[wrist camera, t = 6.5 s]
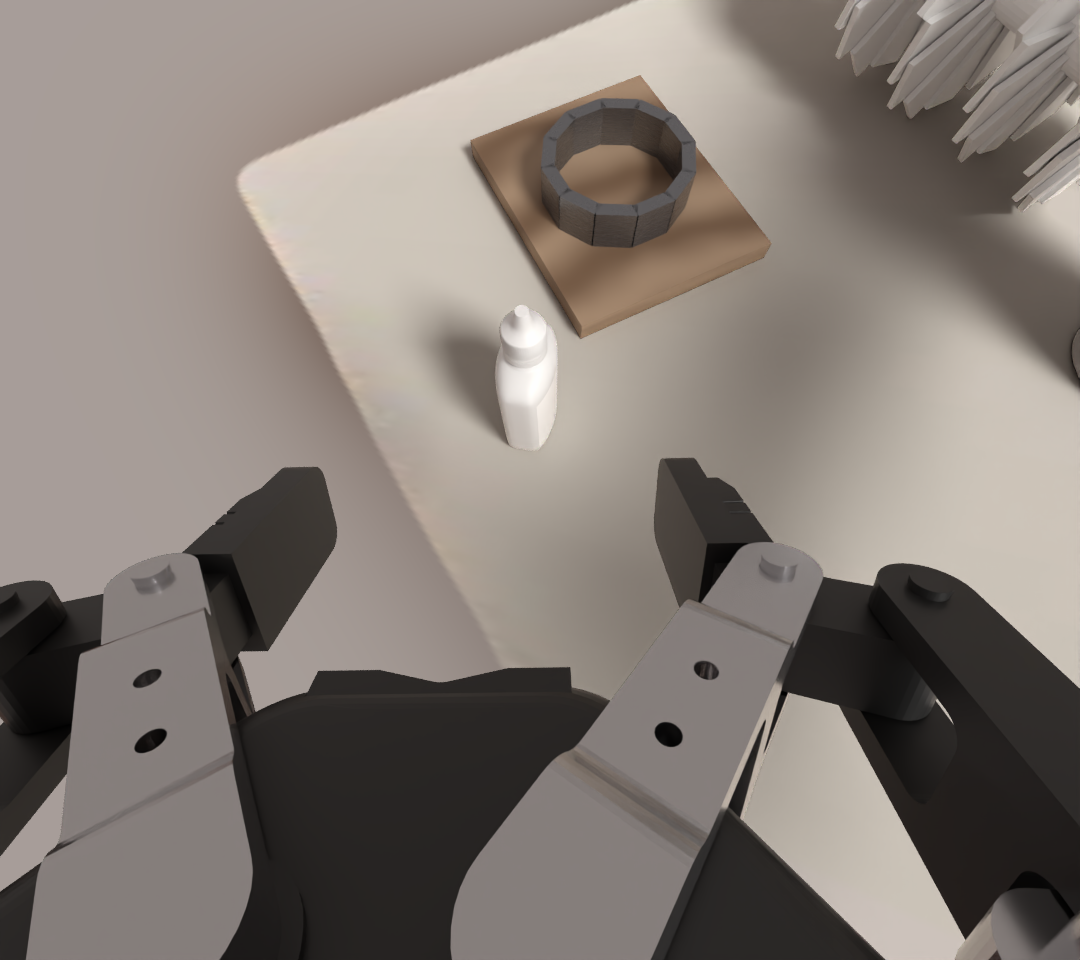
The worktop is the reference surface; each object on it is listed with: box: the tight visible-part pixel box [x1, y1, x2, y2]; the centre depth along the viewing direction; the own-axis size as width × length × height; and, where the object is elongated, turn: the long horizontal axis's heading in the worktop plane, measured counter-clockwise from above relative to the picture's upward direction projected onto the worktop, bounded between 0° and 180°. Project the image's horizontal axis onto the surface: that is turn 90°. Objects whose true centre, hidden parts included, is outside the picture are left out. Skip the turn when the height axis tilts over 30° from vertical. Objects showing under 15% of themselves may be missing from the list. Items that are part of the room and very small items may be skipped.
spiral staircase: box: [834, 0, 1080, 212], centre depth 34 cm, size 18×18×25 cm
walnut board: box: [471, 75, 771, 338], centre depth 40 cm, size 20×16×2 cm
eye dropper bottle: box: [495, 305, 558, 451], centre depth 30 cm, size 4×6×12 cm
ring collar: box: [541, 98, 696, 248], centre depth 38 cm, size 11×11×3 cm
